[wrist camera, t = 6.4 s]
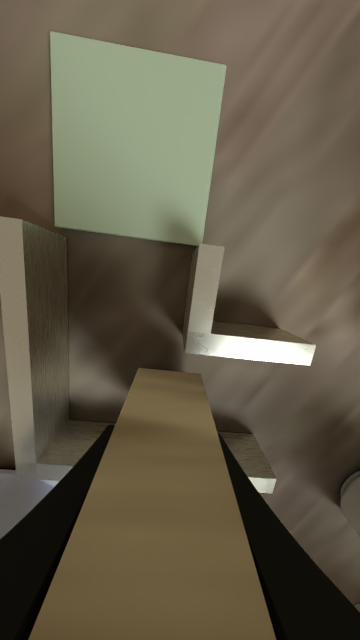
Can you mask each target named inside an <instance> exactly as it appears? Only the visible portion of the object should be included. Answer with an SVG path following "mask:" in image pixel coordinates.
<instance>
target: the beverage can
mask: <svg viewBox="0 0 360 640" xmlns="http://www.w3.org/2000/svg"><path fill="white" fill-rule="evenodd" d="M341 510H342V512H343V514H344V516H345V517H346V519H347V520H348V521H349V523H350V524H351V526H352V527H353V528H354V530H355V531H356V532H357V534H358V535H359V537H360V471H358V472H356V473H354V474H353V475H351V476H350V477H349V478H348V479H347V480H346V481H345V482H344V484H343V486H342V488H341Z"/></svg>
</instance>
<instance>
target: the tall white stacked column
mask: <svg viewBox="0 0 360 640" xmlns="http://www.w3.org/2000/svg"><path fill="white" fill-rule="evenodd" d="M354 607H355V608H356V609H357V610H358V611H359V612H360V604H356V605H355V606H354Z"/></svg>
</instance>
